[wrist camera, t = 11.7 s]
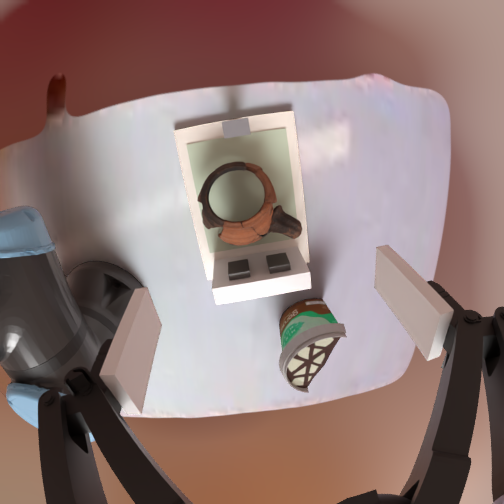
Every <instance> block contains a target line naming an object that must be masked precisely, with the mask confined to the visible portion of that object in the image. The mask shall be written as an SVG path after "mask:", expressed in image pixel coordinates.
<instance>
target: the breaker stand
mask: <svg viewBox="0 0 504 504" xmlns="http://www.w3.org/2000/svg"><path fill="white" fill-rule="evenodd" d="M241 118H248V121H249V127H250V133H251V134H250V135H244V136H237V137H232V138H226V139H224V133H223V128H222V122H224V121H229V120H235V119H241ZM241 118H235V119H229V120H224V121H218V122H213V123H207V124H202V125H197V126H193V127H188V128H184V129H179V130H175V131H174V136H175V141H176V146H177V151H178V156H179V160H180V165H181V170H182V175H183V179H184V184H185V188H186V193H187V197H188V202H189V206H190V211H191V215H192V219H193V223H194V228H195V232H196V236H197V240H198V244H199V248H200V252H201V256H202V260H203V264H204V268H205V272H206V276H207V280H213V282H212V291H213V295H214V298H215V302H216V305H219V304H225V303H231V302H237V301H244V300H250V299H255V298H261V297H267V296H273V295H278V294H284V293H289V292H295V291H300V290H305V289H310V288H311V276H310V270H309V268H308V266H307V264H306V263H310V261H309V248H308V236H307V224H306V213H305V203H304V193H303V184H302V175H301V166H300V158H299V150H298V142H297V134H296V127H295V120H294V113H293V111H286V112H278V113H269V114H262V115H255V116H248V117H241ZM239 161H241V162H245V163H252V164H255V165H257V166H259V167H261V168H262V169H263V170H262V171H263V172H264V173H265V174H266V175H267V176H268V177H269V179H270V181H271V183H272V185H273V187H274V190H275V194H276V198H277V202H276V203H273V210H274V208H275V207H276V206H278V205H281V206H282V209H283V211H284V212H285V213H287V214H289V215H291V216H292V217H294V218H296V219H297V220H299V221H300V222H301V226H302V232H301V235H300V236H299V237H297V238H296V239H292V238H290V237H288V236H286V235H284V234H280V233H273V232H270V233H269V234H268V235H267V236H265V237H264V238H262V239H261V240H259V241H256V242H254V243H251V244H248V245H242V246H235V245H230V244H229V243H226V242H224V241H223V240H222V239H220V238H219V237H218V234H219V233H222V230H223V227H216V228H211V229H207V228H206V227H205V225H204V224H203V218H202V209H203V206H202V203H200V202H198V201H197V200H198V195H199V193H200V191H201V189H202V186H203V184H204V182H205V180H206V179H207V177H208V176H209V175H210V174H211V173H212V172H213V171H215V169H217V168H218V167H220V166H221V165H224V164H226V163H231V162H239ZM264 197H265V193H264V187H263V185H262V183H261V181H260V180H259V179H258V178H257V177H256V176H255V174H254V173H252V172H250V171H247V170H245V171H243V170H236V171H230V172H227V173H225V174H223V175H222V176H220V177H219V178H218V179H217V180H216V181H215V182H214V183H213V185H212V187H211V189H210V192H209V203H210V206H211V208H212V210H213V211H214V213H215V214H216V215H217V216H219V217H220V218H222V219H224V220H227V221H232V222H238V221H244V220H247V219H249V218H251V217H252V216H254V215H255V214H256V213H257V212H258V211H259V210H260V208H261V207H262V205H263V203H264ZM284 252H286V255H287V257H288V260H289V262H290V266H291V270H288V271H282V272H277V273H271V274H270V272H269V268H268V264H267V260H266V256H267V255H273V254H278V253H284ZM244 259H248V263H249V270H250V276H251V277H248V278H242V279H236V280H230V281H229V276H228V262H232V261H238V260H244Z"/></svg>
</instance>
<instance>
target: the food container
mask: <svg viewBox="0 0 504 504" xmlns="http://www.w3.org/2000/svg"><path fill="white" fill-rule="evenodd" d="M279 326H280V336H281V345H282V353H281V356H280V360H279V367H280V371H281V372H282V374H283V376H284V378H285V380H286V381H287V382H288V384H290V386H291V387H293V388H294V389H296V390H298V391H301V392H305V393H308V386H309V384H310V382H311V381H312V379H313V378H314V377H315V375H316V374H317V373H318V372H319V371H320V370H321V368H322V367H323V366H324V365H325V363H326V361H327V359H328V357H329V355H330V353H331V352H332V350H333V348H334V347H335V345H336V343H337V342H338V340H339V339H340V337H346V335H345V333H346V331H345V327H344V324H340V323H338V322H337V321H336V319H335V318H334V316H333V314H332V313H331V311H330V310H329V308H328V307H327V305H326V304H325V302H324V301H323V299H317V298H314V299H305V300H302V301H300V302H297V303H295V304H294V305H292V306H291V307H289V308H288V309H287V310H286V311H285V312H284V313H283V315H282V317H281V319H280V324H279Z"/></svg>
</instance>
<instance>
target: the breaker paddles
mask: <svg viewBox="0 0 504 504" xmlns="http://www.w3.org/2000/svg"><path fill="white" fill-rule="evenodd" d="M266 260H267V264H268V268H269V272H270V274H271V273H277V272H282V271H288V270H291V266H290V262H289V260H288V257H287V255H286V252H284V253H278V254H273V255H267V256H266ZM228 276H229V281H230V280H236V279H242V278H248V277H251V276H250V270H249V263H248V259H244V260H238V261H232V262H228Z"/></svg>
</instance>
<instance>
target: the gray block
mask: <svg viewBox="0 0 504 504" xmlns="http://www.w3.org/2000/svg"><path fill="white" fill-rule="evenodd" d="M222 128H223V133H224V139H226V138H232V137H237V136H244V135H250V134H251V133H250V127H249V121H248V118H241V119H235V120H229V121H224V122H222Z"/></svg>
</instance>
